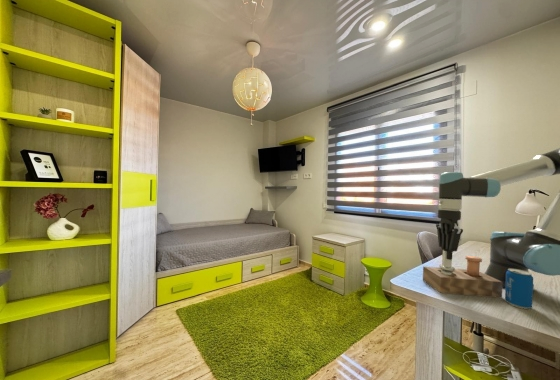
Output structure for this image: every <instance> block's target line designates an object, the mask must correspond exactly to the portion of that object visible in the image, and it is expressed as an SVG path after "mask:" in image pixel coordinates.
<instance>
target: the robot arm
mask: <svg viewBox="0 0 560 380" xmlns="http://www.w3.org/2000/svg"><path fill="white" fill-rule="evenodd" d="M555 175H560V147H559V148H556V149H554V150H551V151H549V152H548V151H547V152H545V153H542V154H539V155H536V156H534V157H532V159H530V160H526V161H523V162H519V163H516V164H511V165H508V166H505V167H501V168H498V169H494V170H490V171H487V172H484V173H479V174H476V175H472V176H469V177H464V175H463V173H462V172H457V171H454V172H453V171H449V172H443V173H441V174H440V175H439V182H438V184H439V186H438V202H437V203H438V204H437V205H438V206H437V208H438V210H437V218H438V219H440V221H439V223H436V224H435V227H436V230H437V239H438V240H437V242H438V247H439V248H441V250H442V252H441V253H442V255H441V257H442V260H441V262H442V263H441V265H442V266H444V267H453V266H452V264H453V263H452V260H453V253H454V252H458V249H459V243H460V240H461V236H462V234H463V232H464V229H463V228H460V227H459V222H458V221H461V219H462V212H461V210H462V207H463V206H462V202H463V200H462V199H463V197H469V198H470V197H475V198H478V197H479V198H496V197H497V196H498V195H499V194H500V192H501V190H502V189H501V187H503V186H508V185H511V184H515V183H518V182H523V181H526V180H527V181H528V180H529V179H534V178H537V177H540V176H541V177H545V178H546V177H550V176H555ZM489 240H490V250H489V251H490V252H489V253H490V254H489V264H488V266H487V268H486V271H485V272H483V273H484V274H486V275H488V276H490V277H493V278H495V279H497V280H499V281H501V282H503V284H502V288H504V289H505V288H506V272H507V271H508V269H518V270H523V271H527V272H529V273H530V271H532V272H534V273H537V274H542V275H544V276H545V275H546V276H552V277H553V276H555V277H556V276H560V190H559V191H558V192H557V194H556V196H555V197H554V199H553V200H552V201H551V203H550V204H549V207H548V208H547V209H546V211H545V212H544V214H543V216H542V217H541V219H540V220H539V222H538V224H537V225H536V228H534V229H530V230H527V231H526V233H521V232H510V231H509V232H508V231H492V232H491V235H490V239H489ZM529 270H530V271H529ZM534 291H535V284H534V283H533V292H534Z"/></svg>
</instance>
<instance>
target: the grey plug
mask: <svg viewBox="0 0 560 380" xmlns="http://www.w3.org/2000/svg"><path fill="white" fill-rule="evenodd" d="M438 268H440V269H441V273H443V274H445V275H453V272H454V271H455V269H456V268H455V267H453V266H451V267H444V266H442V264H440V265H439V267H438Z"/></svg>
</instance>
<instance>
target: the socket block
mask: <svg viewBox="0 0 560 380" xmlns="http://www.w3.org/2000/svg"><path fill="white" fill-rule="evenodd" d="M422 266H423V265H422ZM484 273H485V272H481V271H479V277H473V276H469V275H467V269H463V268H461V269H460V268H455V271H454V272H453V275H445V274H443V273H441V269H440V268H439V267H435V266H423V267H422V281H424V282H425V283H427V284H428V285H429V286H431V288H434V290H436V291H438V292H439V293H442V294H454V295H465V296H477V297H486V298H487V297H488V298H490V297H491V298H499V299H500V298H503V287H502V284H503V282H501V281H499V280H497V279H495V278H493V277H490V276H488V275H486V274H484Z"/></svg>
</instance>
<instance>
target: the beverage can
mask: <svg viewBox="0 0 560 380" xmlns="http://www.w3.org/2000/svg"><path fill="white" fill-rule="evenodd" d="M533 284H534V276H533V275H532V272H530V271H529V272H527V271H523V270H518V269H508V271H507V272H506V288H504V289H505V291H504V294H505V295H504V300H505V301H506V302H507V304H509V305H510V306H513V307H516V308H520V309H523V308H524V309H525V310H528V309H531V308H533V296H534V295H533V294H534V293H533V292H534V291H533Z"/></svg>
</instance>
